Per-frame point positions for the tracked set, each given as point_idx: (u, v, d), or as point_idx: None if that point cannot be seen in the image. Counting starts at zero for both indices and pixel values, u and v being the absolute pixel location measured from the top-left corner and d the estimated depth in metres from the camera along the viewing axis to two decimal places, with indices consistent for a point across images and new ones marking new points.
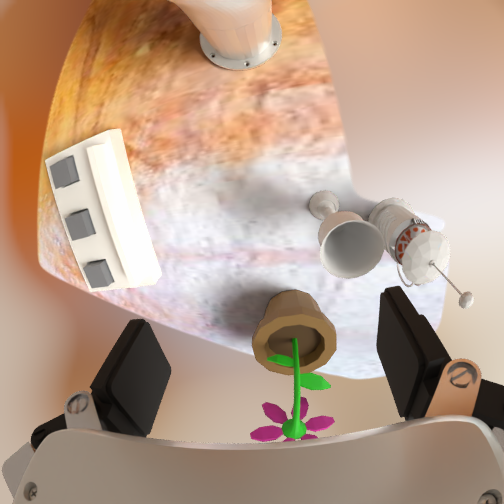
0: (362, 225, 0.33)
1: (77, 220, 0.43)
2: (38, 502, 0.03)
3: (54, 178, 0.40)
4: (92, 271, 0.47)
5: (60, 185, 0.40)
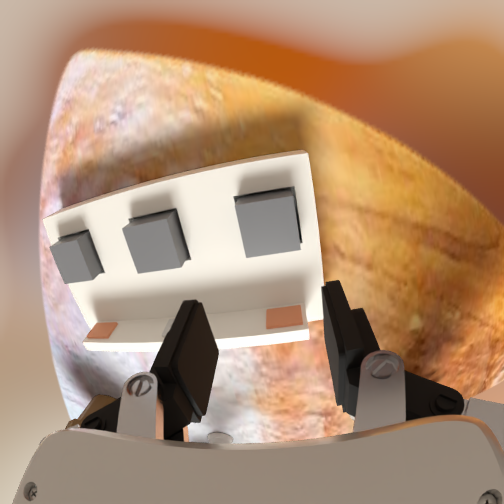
0: None
1: (165, 255, 0.23)
2: (39, 502, 0.03)
3: (261, 207, 0.21)
4: (77, 260, 0.24)
5: (243, 222, 0.22)
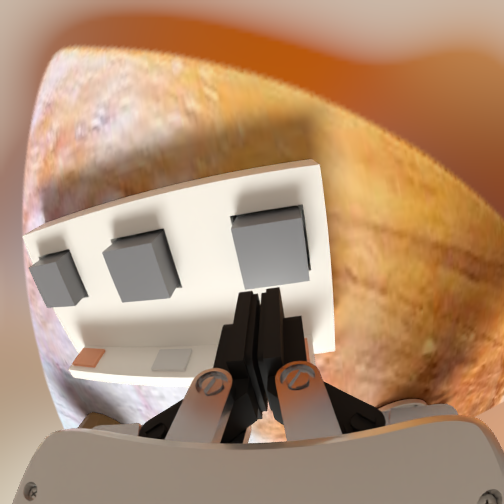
0: None
1: (151, 283, 0.20)
2: (39, 502, 0.03)
3: (262, 231, 0.18)
4: (57, 284, 0.21)
5: (241, 249, 0.18)
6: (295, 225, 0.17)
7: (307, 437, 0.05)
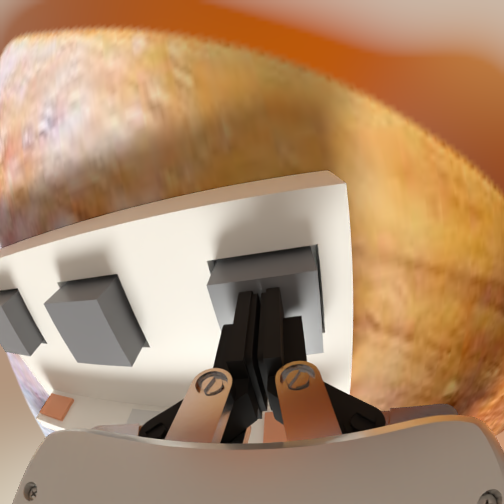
0: None
1: (106, 348, 0.13)
2: (39, 502, 0.03)
3: (255, 289, 0.11)
4: (9, 330, 0.14)
5: (224, 313, 0.12)
6: (306, 281, 0.11)
7: (307, 437, 0.05)
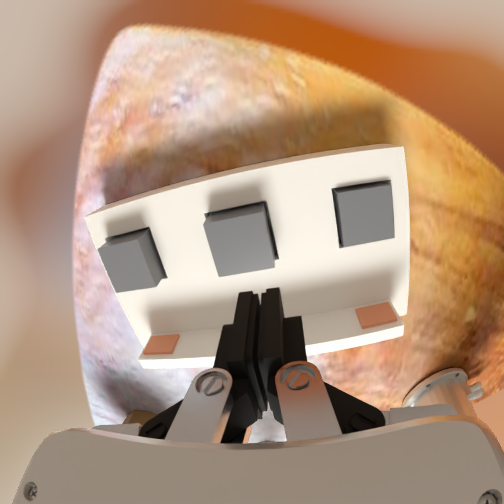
0: None
1: (257, 254, 0.21)
2: (38, 502, 0.03)
3: (362, 195, 0.20)
4: (136, 264, 0.22)
5: (344, 210, 0.21)
6: (386, 191, 0.20)
7: (307, 437, 0.05)
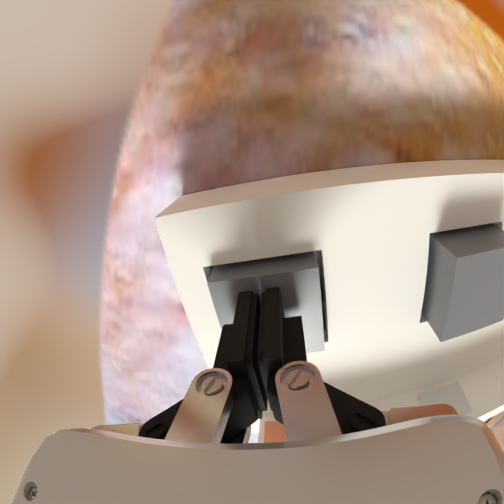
0: None
1: (496, 303, 0.10)
2: (39, 502, 0.03)
3: None
4: (299, 314, 0.12)
5: None
6: None
7: (307, 437, 0.05)
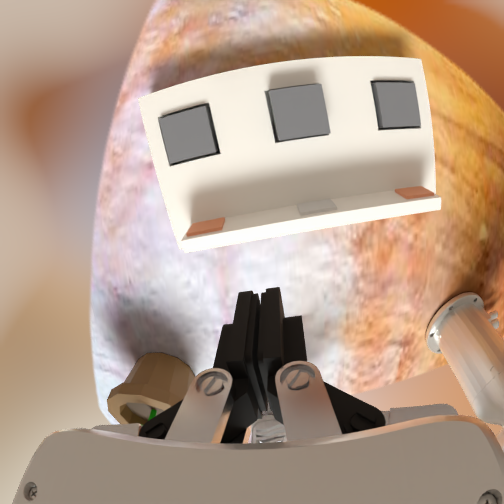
0: None
1: (315, 119, 0.21)
2: (39, 502, 0.03)
3: (394, 87, 0.21)
4: (199, 130, 0.23)
5: (382, 96, 0.21)
6: (411, 87, 0.20)
7: (307, 437, 0.05)
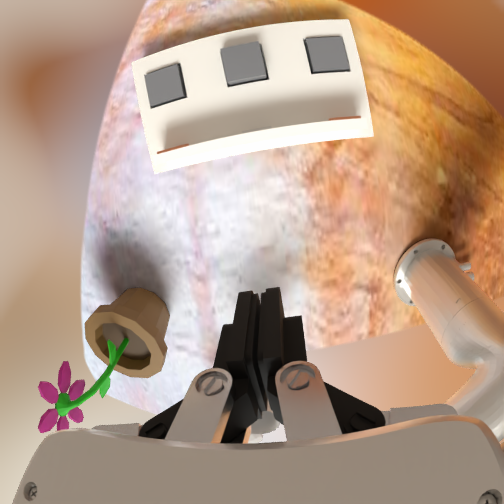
0: None
1: (254, 65, 0.27)
2: (38, 502, 0.03)
3: (322, 40, 0.26)
4: (172, 80, 0.29)
5: (311, 48, 0.26)
6: (338, 39, 0.25)
7: (307, 437, 0.05)
